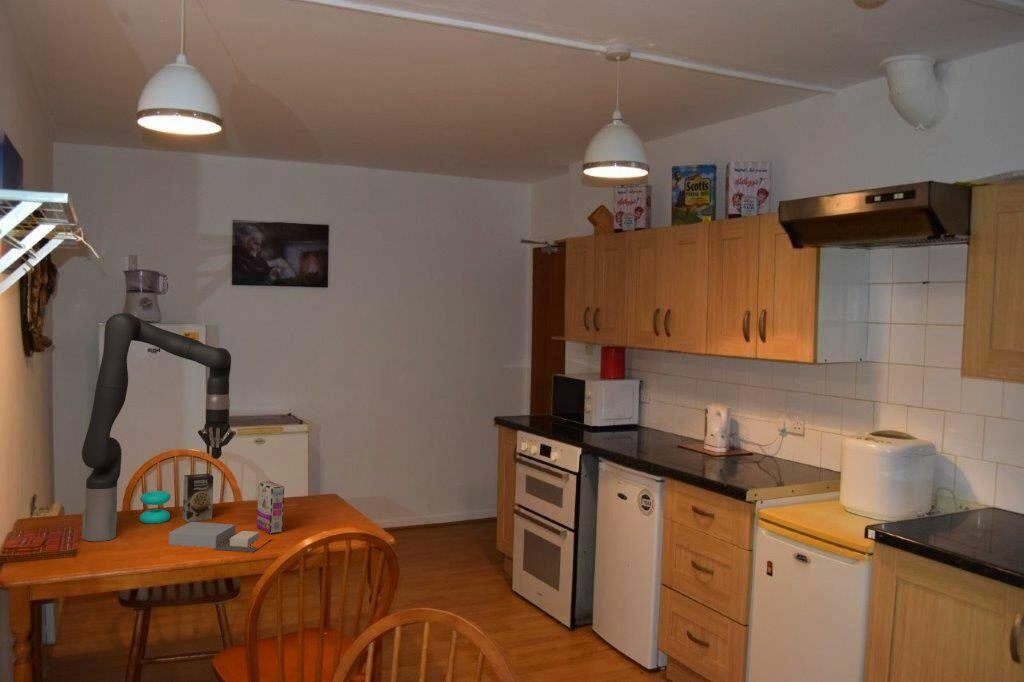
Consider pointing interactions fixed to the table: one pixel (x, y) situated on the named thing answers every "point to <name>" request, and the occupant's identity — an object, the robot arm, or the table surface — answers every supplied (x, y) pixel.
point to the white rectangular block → (244, 538)
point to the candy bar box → (270, 507)
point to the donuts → (155, 514)
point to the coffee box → (197, 497)
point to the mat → (234, 548)
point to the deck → (201, 534)
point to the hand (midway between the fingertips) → (216, 458)
